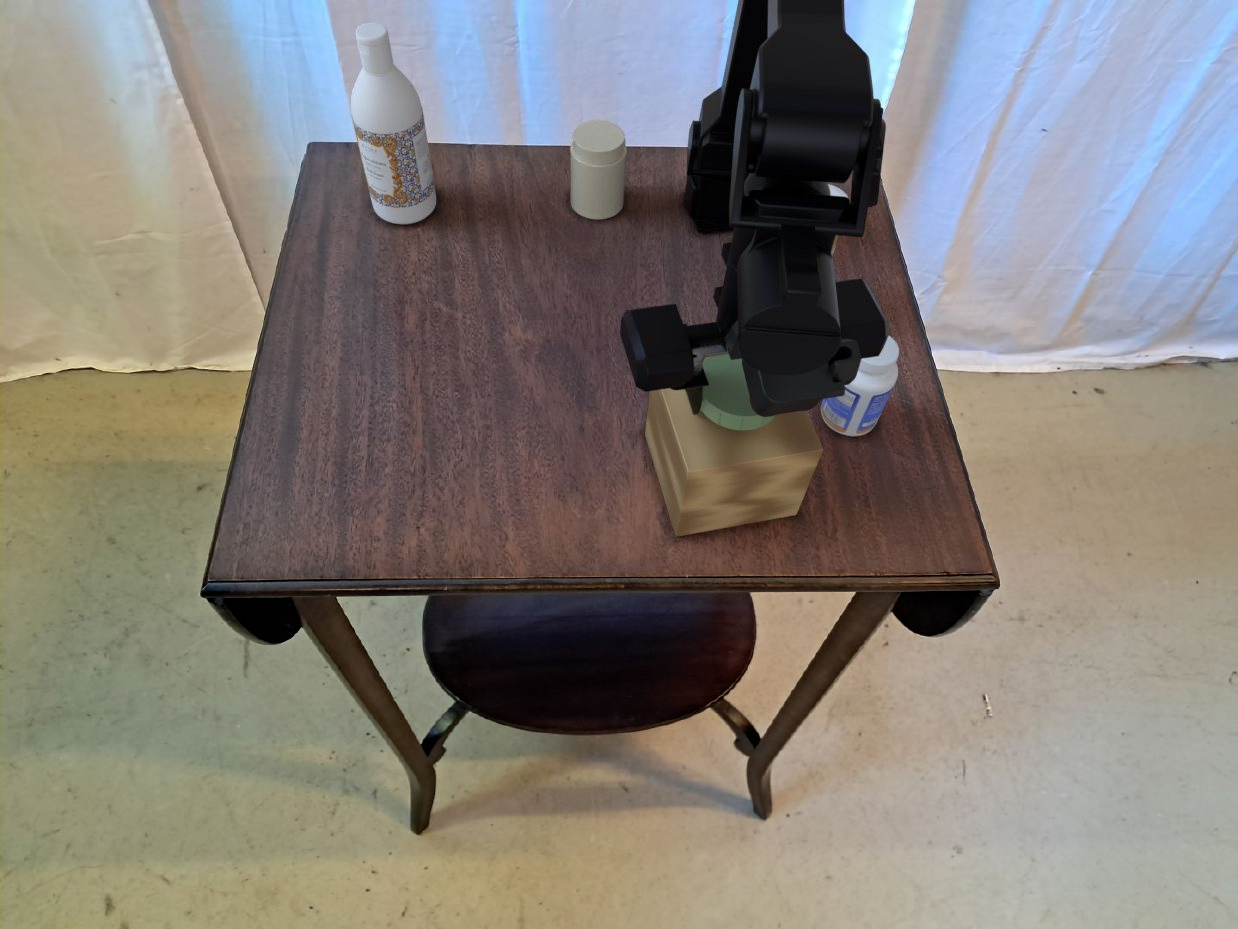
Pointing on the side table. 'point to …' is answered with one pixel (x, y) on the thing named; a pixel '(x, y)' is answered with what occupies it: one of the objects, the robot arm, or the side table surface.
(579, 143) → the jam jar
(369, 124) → the bath foam
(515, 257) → the side table surface
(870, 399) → the pill bottle
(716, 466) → the oak stand
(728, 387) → the jar lid
